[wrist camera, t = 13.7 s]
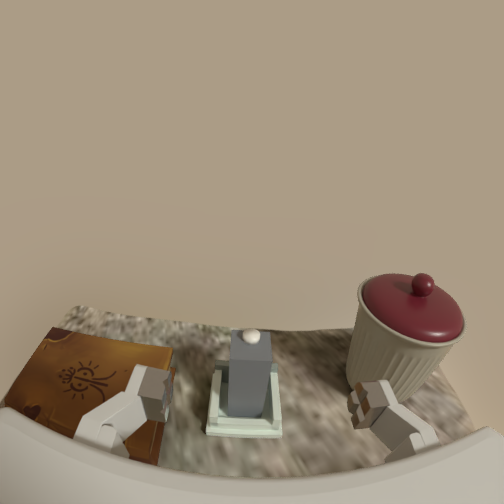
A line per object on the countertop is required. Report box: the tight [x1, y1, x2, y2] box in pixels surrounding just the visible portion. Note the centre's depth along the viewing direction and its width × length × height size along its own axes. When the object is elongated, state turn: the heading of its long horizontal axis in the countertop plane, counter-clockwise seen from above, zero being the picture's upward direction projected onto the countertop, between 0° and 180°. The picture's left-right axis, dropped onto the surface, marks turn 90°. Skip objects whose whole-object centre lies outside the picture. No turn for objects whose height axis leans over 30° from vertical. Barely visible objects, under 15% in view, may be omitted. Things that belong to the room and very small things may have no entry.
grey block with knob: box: [227, 329, 273, 418], centre depth 32 cm, size 5×5×13 cm
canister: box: [346, 273, 467, 403], centre depth 36 cm, size 18×18×21 cm
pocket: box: [206, 360, 282, 438], centre depth 34 cm, size 10×11×5 cm
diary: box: [5, 327, 176, 466], centre depth 30 cm, size 23×19×6 cm
